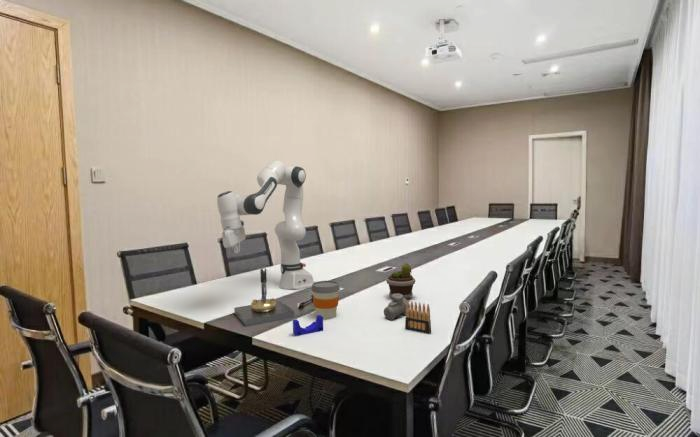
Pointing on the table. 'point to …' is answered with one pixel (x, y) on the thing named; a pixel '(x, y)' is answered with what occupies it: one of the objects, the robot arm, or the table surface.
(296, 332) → the blue cradle stand
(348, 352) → the table surface
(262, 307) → the brass base with rod
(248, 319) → the cap plate
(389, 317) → the pipe fitting
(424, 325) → the ammunition clip
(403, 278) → the flowerpot
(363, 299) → the table surface
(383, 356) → the table surface
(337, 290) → the reusable coffee cup
